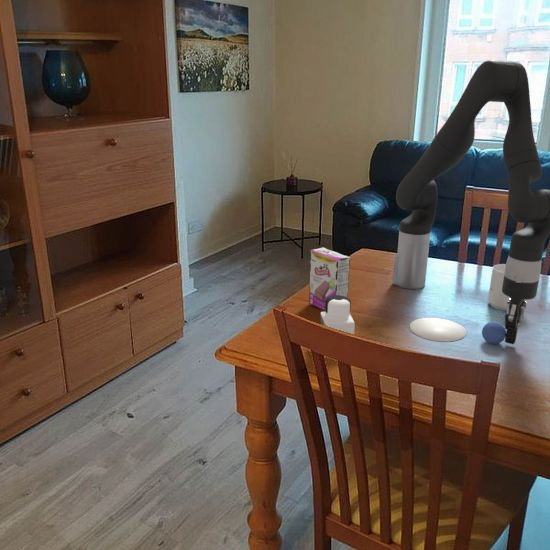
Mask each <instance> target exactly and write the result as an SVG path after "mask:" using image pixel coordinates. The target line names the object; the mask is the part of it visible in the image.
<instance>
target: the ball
mask: <svg viewBox="0 0 550 550" xmlns="http://www.w3.org/2000/svg"><path fill="white" fill-rule="evenodd" d="M506 332H507V329H505V325H503V324H502V323H500V322H498V321H489V322H487V323H486V324H484V326H483V328H482V329H481V335H482V338H483V340H484V341H485V342H487V343H488V344H490V345H497V344H501V343H502V342H504V341H505V337H506Z"/></svg>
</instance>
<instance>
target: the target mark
mask: <svg viewBox="0 0 550 550" xmlns="http://www.w3.org/2000/svg"><path fill="white" fill-rule="evenodd" d="M409 329H410V332H412V333H413V334H415V335H416V336H418V337H420V338H422V339H426V340H429V341H434V342H443V343H444V342H445V343H446V342H447V343H448V342H449V343H451V342H455V341H460V340H462V339H463V338H465V337H466V335H467V331H466V329H465V327H464V326H462V325H461V324H460V323H457V322H455V321H452V320H449V319H446V318H445V319H444V318H439V317H422V318H418V319H417V318H416V319H415V320H413V321H411V322H410V325H409Z"/></svg>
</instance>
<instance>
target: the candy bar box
mask: <svg viewBox="0 0 550 550" xmlns="http://www.w3.org/2000/svg"><path fill="white" fill-rule="evenodd" d="M350 264H351V257H350V256H348V255H344V254H341V253H340V252H337V251H334V250H331V249H329V248H326V247H323V246H322V247H319V248H313V249H310V261H309V265H310V266H309V267H310V268H309V298H308V301H309V303H308V304H309V305H310V306H312V307H315V308H316V309H319V310H321V311H322V312H325V300H326V298H328V297H330V296H333V295H341V296H345V297H347V298H349V283H350V266H351V265H350Z"/></svg>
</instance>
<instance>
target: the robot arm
mask: <svg viewBox="0 0 550 550" xmlns="http://www.w3.org/2000/svg"><path fill="white" fill-rule="evenodd" d="M489 102H495V103H504V105H505V108H506V110H507V114H508V125H507V129H506V133H505V135H504V139H503V144H502V155H503V160H504V164H505V168H506V171H507V176H508V190H507V192H508V193H507V194H508V196H507V209H508V213H509V215H510V216H511V218H512V220H514V221H516V222H517V223H523V224H524V223H528V224H527V226H526V227H524V228H522V229H520V230H516V231H514V233H513V234H512V236H511V240H510V245H509V250H508V251H509V252H508V257H507V260H506V263H505V264H506V267H505V273H504V279H503V285H502V292H503V294H505V295H506V296H509V297H510V298H509V302H507V305H506V309H507V311H506V314H505V315H504V328H505V330H506V337H505V339H504V343H506V344H510V345H515V343H516V341H517V336H518V330H519V328H520V326H521V325H520V324H521V322H522V320H523V319H524V315H525V314H524V313H525V310H526V308H527V305H528V302H527V300H528V301H529V300H532V299H535V298H536V296H537V294H538V293H537V292H538V287H539V282H540V277H541V272H542V259H543V255H544V254H543V253H544V251H545V250H544V249H545V243H546V241H547V239H548V238H549V235H550V189H535V190H532V189H530V184H531V183H532V184H533V183H534V182H536V181H537V180H539V179H540V178H541V177H542V176H543V167H542V163H541V159H540V156H539V153H538V149H537V145H536V141H535V136H534V132H533V121H532V108H531V107H532V106H531V105H532V104H531V96H530V85H529V76H528V72H527V69H526V68H525V66H524V65H523V64H522V63H520V62H518V61H514V60H513V61H512V60H501V59H500V60H499V59H488V60H486V61H483V62H482V63H480V65H478V67H477V68H476V70H475V71H474V72H473V74H472V76H471V77H470V79H469V82H468V83H467V84H466V87H465V89H464V91H463V93H462V95H461V97H460V98H459V100H458V102H457V104H456V105H455V107H454V108H453V110H452V111H451V112H450V113H451V114H449V116H448V118H447V120H446V121H445V122H444V124H442V127H441V128H440V129H439V131H437V133H436V134H435V136H434V138H433V139H432V141H431V142H430V144H429V146H428V147H427V149H426V150H425V151H424V152H423V154H422V156H421V157H420V159H419V160H418V161H417V163H416V164H415V165H414V166H413V167H412V168H411V170H410V171H409V172H408V173H407V174H406V175H405V177H404V178H403V179H402V180H401V181H400V183H399V184H398V187H397V189H396V192H395V193H396V194H395V200H396V204H397V206H398V207H399V208H400V209H402V210H404V211H405V210H406V211H412V213H411V214H410V215H408V216H407V217H405V218H403V219H402V220H401V221H400V222H399V232H398V243H397V244H398V245H397V253H396V254H395V255H394V264H393V274H392V284H393V285H396V286H397V287H399V288H403V289H409V290H413V289H414V290H418V289H422V288H424V287H425V286H426V279H427V278H426V277H427V269H428V260H429V259H428V258H429V249H430V240H431V233H432V232H431V230H432V226H433V225H434V223H435V216H436V211H437V209H436V208H437V205H438V196H439V194H438V193H439V191H438V185H437V183H436V181H435V179H437V178H438V177H441V176H442V175H444V174H445V173H446V172H448V171H450V170H451V169H453V168H454V167H456V165H458V164H459V163H460V162H461V161H462V160H463V158H464V157H465V156H466V155H467V153H468V152H469V150H470V149H471V148H472V146H473V144H474V141H475V135H476V129H475V128H476V127H475V121H476V118H477V116H478V115H479V113H480V112H481V111H482V110H483V108H485V106H486V105H487V104H488V103H489Z"/></svg>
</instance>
